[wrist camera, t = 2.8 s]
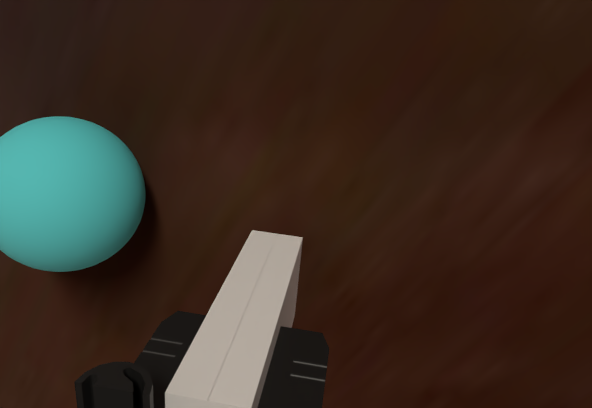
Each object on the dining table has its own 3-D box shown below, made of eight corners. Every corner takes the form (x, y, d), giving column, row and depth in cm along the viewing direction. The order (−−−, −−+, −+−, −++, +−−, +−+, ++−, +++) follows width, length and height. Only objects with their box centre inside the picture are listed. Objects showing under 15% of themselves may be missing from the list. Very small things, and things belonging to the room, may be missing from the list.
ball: (168, 112, 20) (89, 150, 15) (169, 241, 23) (101, 315, 17) (35, 95, 21) (-87, 126, 16) (49, 222, 23) (-53, 287, 18)
